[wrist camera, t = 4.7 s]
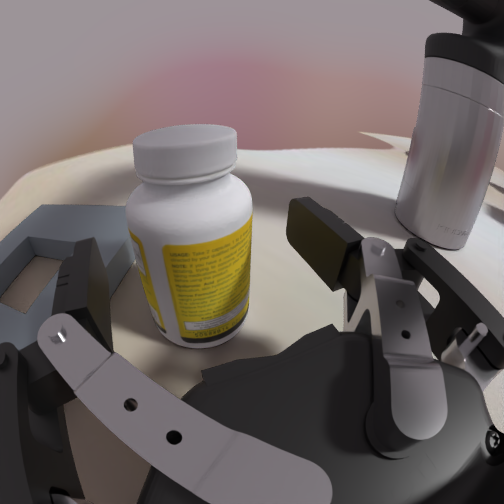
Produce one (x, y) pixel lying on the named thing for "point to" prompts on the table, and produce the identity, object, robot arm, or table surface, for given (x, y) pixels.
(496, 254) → the table surface
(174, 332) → the supplement bottle
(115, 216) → the hole board
